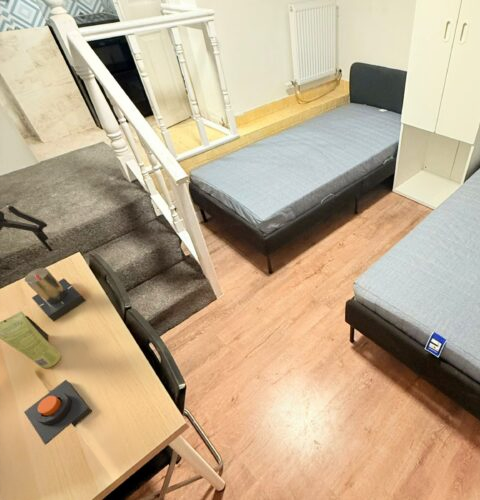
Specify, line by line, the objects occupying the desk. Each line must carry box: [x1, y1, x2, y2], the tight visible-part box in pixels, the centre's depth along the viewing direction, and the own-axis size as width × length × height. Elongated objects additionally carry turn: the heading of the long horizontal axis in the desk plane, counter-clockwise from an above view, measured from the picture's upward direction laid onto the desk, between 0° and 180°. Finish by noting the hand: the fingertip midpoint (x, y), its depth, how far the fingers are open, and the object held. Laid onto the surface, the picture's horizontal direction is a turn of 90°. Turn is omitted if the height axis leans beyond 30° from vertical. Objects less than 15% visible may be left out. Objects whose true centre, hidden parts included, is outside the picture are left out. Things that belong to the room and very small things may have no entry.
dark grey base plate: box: [23, 379, 93, 445], centre depth 82 cm, size 12×10×4 cm
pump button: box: [37, 396, 61, 416], centre depth 80 cm, size 4×4×2 cm
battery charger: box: [25, 315, 49, 343], centre depth 93 cm, size 7×4×11 cm, turn 27°
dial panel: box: [31, 278, 86, 322], centre depth 107 cm, size 12×10×3 cm
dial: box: [24, 267, 67, 304], centre depth 102 cm, size 6×6×10 cm
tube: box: [0, 311, 61, 369], centre depth 87 cm, size 6×5×20 cm
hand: (24, 263), depth 94 cm, fingers open, 13 cm apart
